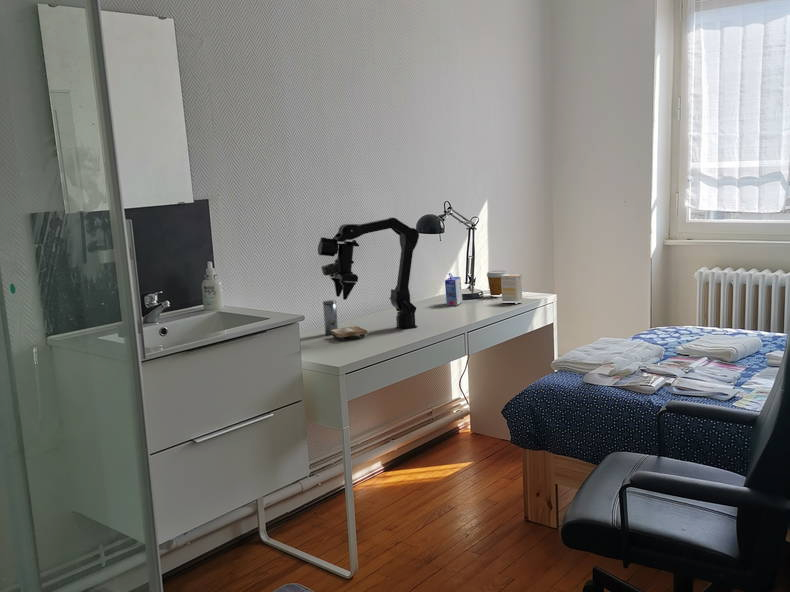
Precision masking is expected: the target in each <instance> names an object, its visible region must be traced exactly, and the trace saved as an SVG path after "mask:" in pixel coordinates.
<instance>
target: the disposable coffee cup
mask: <svg viewBox="0 0 790 592" xmlns="http://www.w3.org/2000/svg"><path fill="white" fill-rule="evenodd" d="M504 274H507V272H506V270H489V271H487V273H486V277H487V282H488V288H489V293H490V294H489V295H490V296H491V295H500V294H502V288H501V275H504Z"/></svg>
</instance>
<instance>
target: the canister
mask: <svg viewBox="0 0 790 592" xmlns="http://www.w3.org/2000/svg"><path fill="white" fill-rule="evenodd" d="M322 305H323V321H324V333H325V334H327V335H326V336H328V335H332V336H333V334H331V333H330V330H331V329H339V327H338V326H339V325H338V313H337V312H338V309H337V300H334V299H332V300H331V299H328V300H324V301H322Z"/></svg>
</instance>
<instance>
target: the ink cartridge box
mask: <svg viewBox="0 0 790 592" xmlns="http://www.w3.org/2000/svg"><path fill="white" fill-rule="evenodd" d="M448 276H449V277H448V278H447V279H445V280H444V287H445V288H444V289H445V301H446V306H447V305H458V304H459V305H460V303H461V302H462V303H463V291H462V290H463V289H462V278H461V276H453V274H452V272H449V273H448ZM462 303H461V304H462ZM459 305H458V306H459Z"/></svg>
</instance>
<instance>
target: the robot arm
mask: <svg viewBox="0 0 790 592" xmlns="http://www.w3.org/2000/svg"><path fill="white" fill-rule="evenodd" d="M389 229H391V230H392V231H393V232H394V233H395V234H396V235H398V236H399V245H400V251H401V252H400V257H399V267H398V275H397V281H396V286H395V288H394V289H392V288H391V289H390V298H389V300H390V303H391V305H392V306H393V307H394V308H395V310H396V320H395V321H396V325H395V326H396V328H398V329H401V330H407V328H408V329H412V328H414V327H415V328H418V326H417V325H416V315H415V313H416V310H417V306H416V305H414V304H413V303H412V302H411V294H410V290H409V289H410V288H409V284H410V279H411V268H412V262H413V254H414V250H415V248H416V247H417V245H418V242H419V238H420V233H419V231H418V230H417V229H416V228H415V227H411V226H408V225H406V224H405V223H403V222H402V221H400V220H399V219H398V218H396V217H388V218H385V219H380V220H376V221H370V222H366V223H365V222H364V223H349V224H348V223H344V224H341V225H340V227H339V228H338V230H337V233H336V234H335V235H334V236H333V237H332V238H330V237H329V238H328V237H323V236H322V237H321V236H320V239H319V242H318V246H317V254H318V256H325V257H335V256H336V255H337V258H335V260H334V263H333V262H332V263H329V264H326V265H323V266H321V271H322V275H323V276H329V278H330V280H332V282H333V283H334V288H335V295H336V297H340V296H341V294H342V299H343V300H345V301H346V300H347V299H348V298H349V296H350V294H351V292H352V290H353V289H354V287H355V285H356V284H357V282H358V281H359V276H358V274H356V273H354V272H353V271H352V268H353V265H354V263H355V262H354V260H353V257H354V256H353V254H354V248H355V247H360V244H359V243H358V242H357V240H356V239H357V238H359V237H361V236H363V235H365V234H370V233H374V232H379V231H385V230H389ZM339 242H340V243H339Z"/></svg>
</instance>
